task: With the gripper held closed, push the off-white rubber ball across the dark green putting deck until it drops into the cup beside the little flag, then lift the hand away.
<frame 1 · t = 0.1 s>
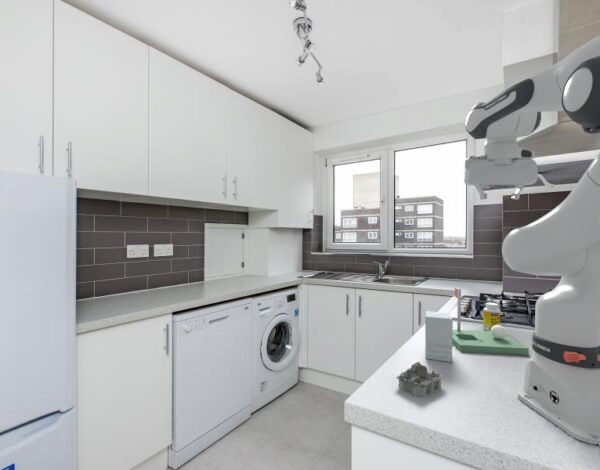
hand: (499, 199, 100), 48 cm above the countertop, tool pointing down, fingers open, 8 cm apart
ball: (498, 332, 105), point 4 cm above the countertop, touching deck
supplement box: (437, 356, 95), on the countertop
egg carton: (420, 388, 77), on the countertop
supplement bottle: (491, 330, 121), on the countertop
deck: (482, 343, 106), on the countertop
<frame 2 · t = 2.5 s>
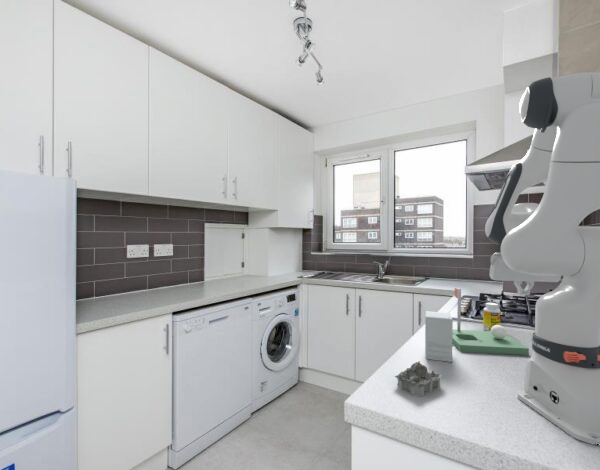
hand: (523, 294, 104), 17 cm above the countertop, tool pointing down, fingers closed
nothing on the countertop moved.
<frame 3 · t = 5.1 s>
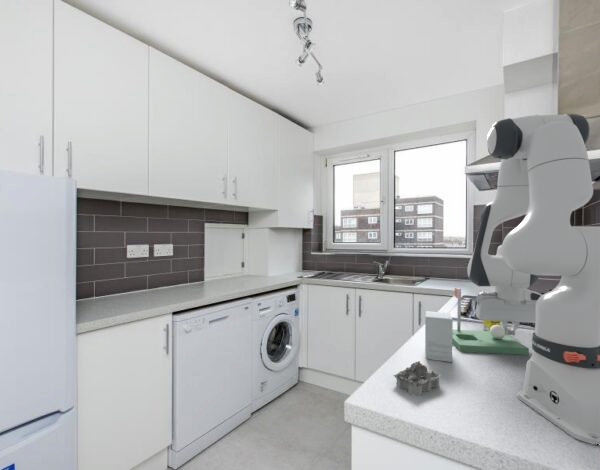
hand: (509, 334, 105), 4 cm above the countertop, tool pointing down, fingers closed
ball: (497, 331, 105), point 4 cm above the countertop, tilted 8°, touching deck, gripper
everything else where it was.
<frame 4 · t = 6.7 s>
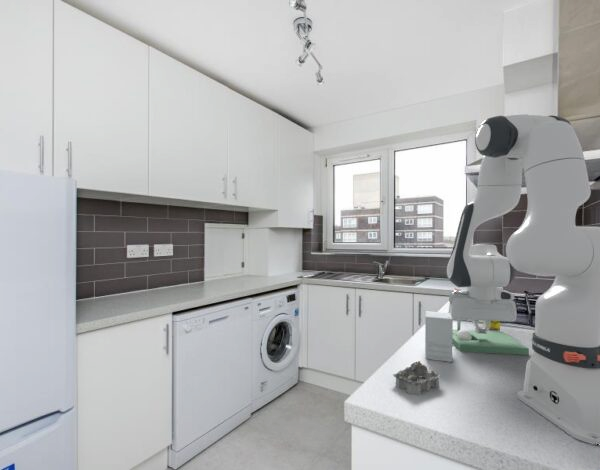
hand: (481, 333, 106), 4 cm above the countertop, tool pointing down, fingers closed
ball: (464, 336, 107), point 2 cm above the countertop, tilted 65°
everything else where it was.
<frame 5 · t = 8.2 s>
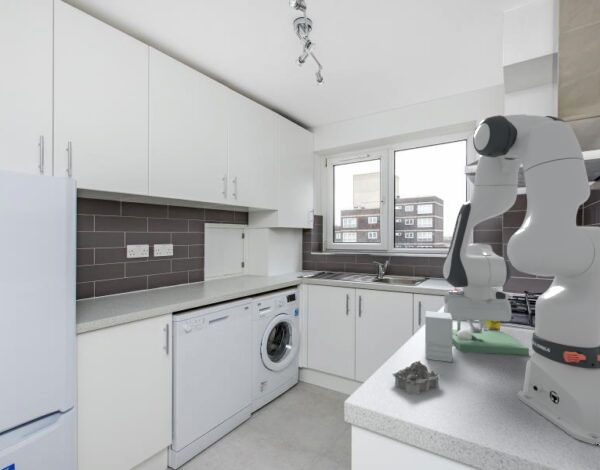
hand: (476, 332, 106), 4 cm above the countertop, tool pointing down, fingers closed
nothing on the countertop moved.
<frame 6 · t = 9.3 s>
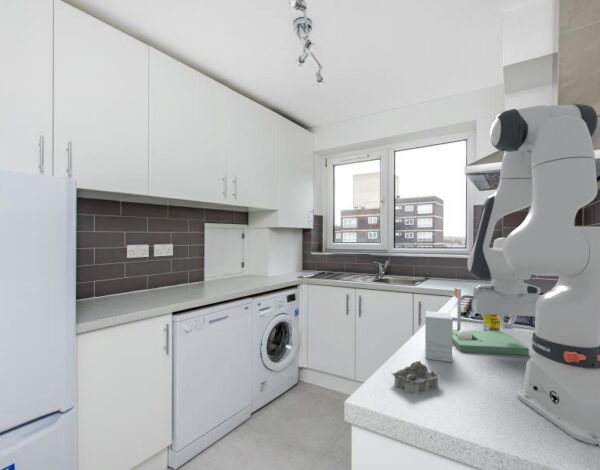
hand: (506, 328, 104), 6 cm above the countertop, tool pointing down, fingers closed
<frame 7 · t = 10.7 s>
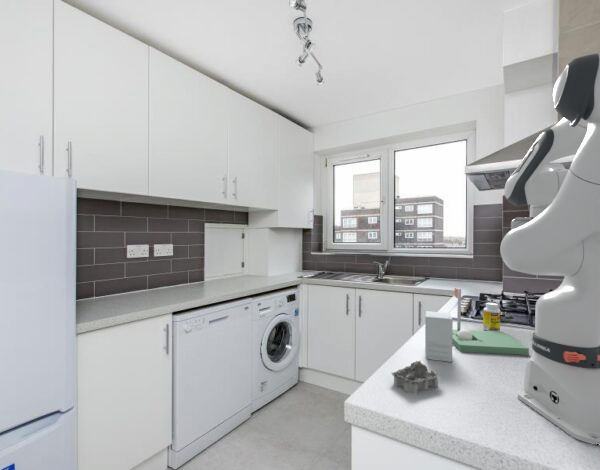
hand: (546, 262, 98), 28 cm above the countertop, tool pointing down, fingers closed
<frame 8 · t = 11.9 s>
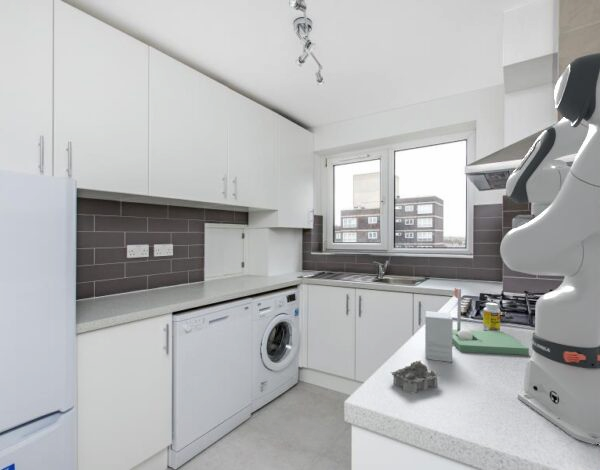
hand: (547, 259, 98), 29 cm above the countertop, tool pointing down, fingers closed
at the end: ball 0.4 cm from the target spot on the deck, point 2.2 cm above the deck's base; the gripper is holding nothing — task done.
